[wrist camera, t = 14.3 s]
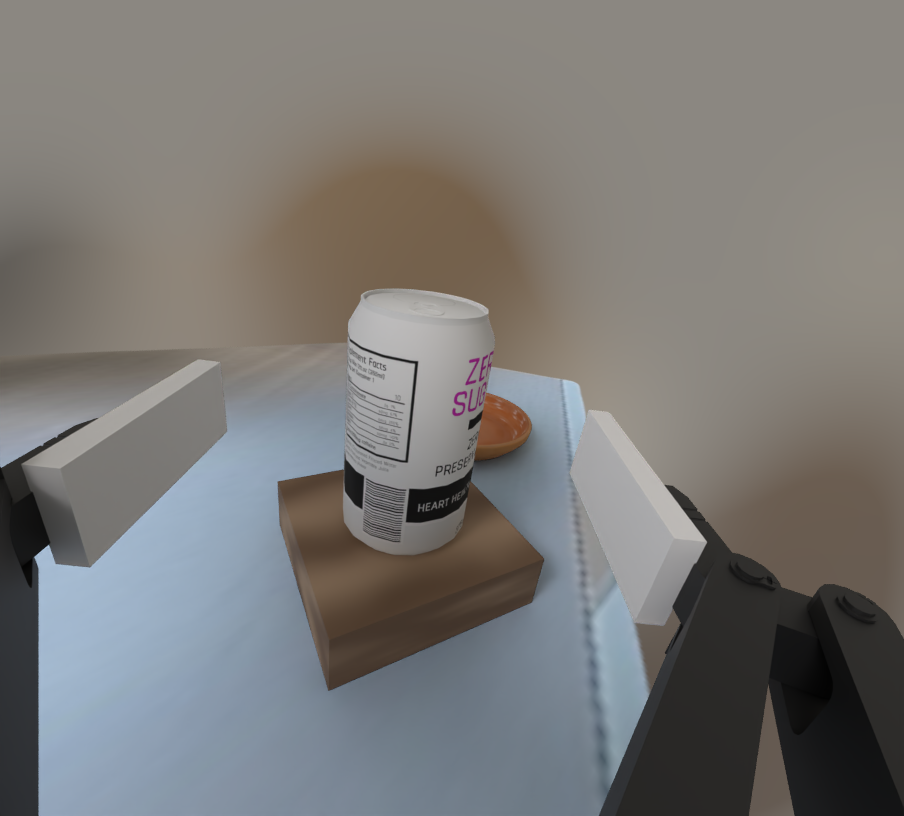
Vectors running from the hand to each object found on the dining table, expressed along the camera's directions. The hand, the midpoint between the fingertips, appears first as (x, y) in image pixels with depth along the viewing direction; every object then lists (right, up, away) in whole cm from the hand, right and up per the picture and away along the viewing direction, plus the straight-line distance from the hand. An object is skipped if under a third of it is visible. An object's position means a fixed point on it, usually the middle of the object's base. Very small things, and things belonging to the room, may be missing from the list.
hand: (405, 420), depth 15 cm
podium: (-2, -11, +16) cm, 19 cm away
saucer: (+3, -3, +36) cm, 36 cm away
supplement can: (-2, -7, +14) cm, 16 cm away
